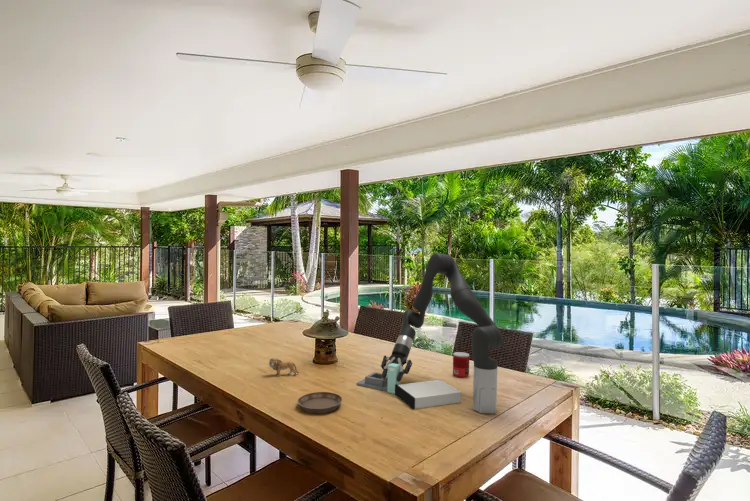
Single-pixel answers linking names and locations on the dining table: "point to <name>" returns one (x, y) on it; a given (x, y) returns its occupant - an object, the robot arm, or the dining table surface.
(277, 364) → the lion figurine
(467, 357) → the canned food
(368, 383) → the port block
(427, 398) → the disc drive
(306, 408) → the plant saucer
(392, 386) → the plug
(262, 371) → the dining table surface
